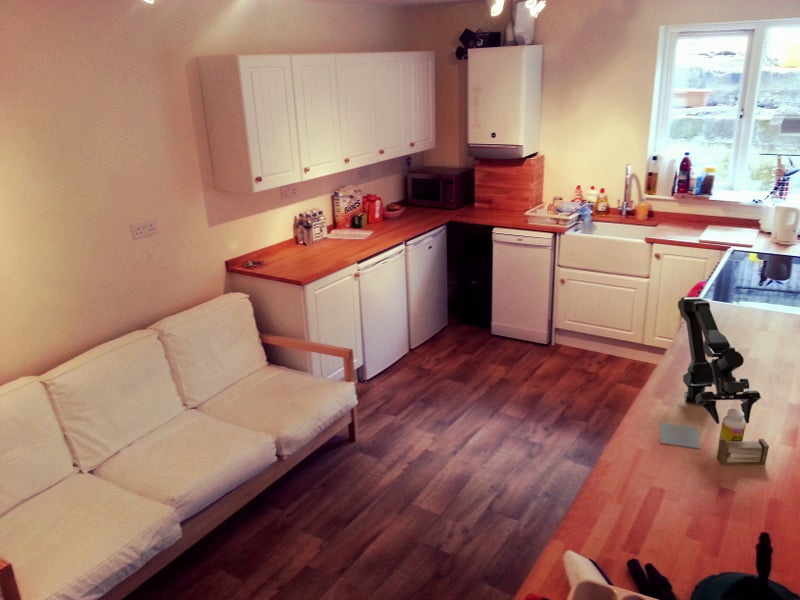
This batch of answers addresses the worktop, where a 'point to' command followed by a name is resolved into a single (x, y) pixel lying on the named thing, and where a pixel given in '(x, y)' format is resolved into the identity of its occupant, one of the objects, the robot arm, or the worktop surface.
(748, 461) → the offcut rack
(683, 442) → the slate mat
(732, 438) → the supplement bottle
